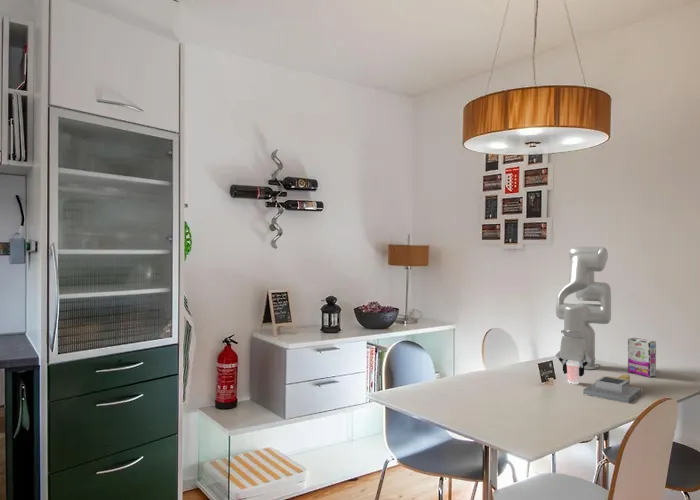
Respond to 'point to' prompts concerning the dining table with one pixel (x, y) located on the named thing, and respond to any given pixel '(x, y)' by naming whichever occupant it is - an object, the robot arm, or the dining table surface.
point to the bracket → (623, 377)
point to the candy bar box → (642, 357)
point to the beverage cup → (573, 372)
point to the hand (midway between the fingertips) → (573, 374)
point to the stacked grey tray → (613, 389)
